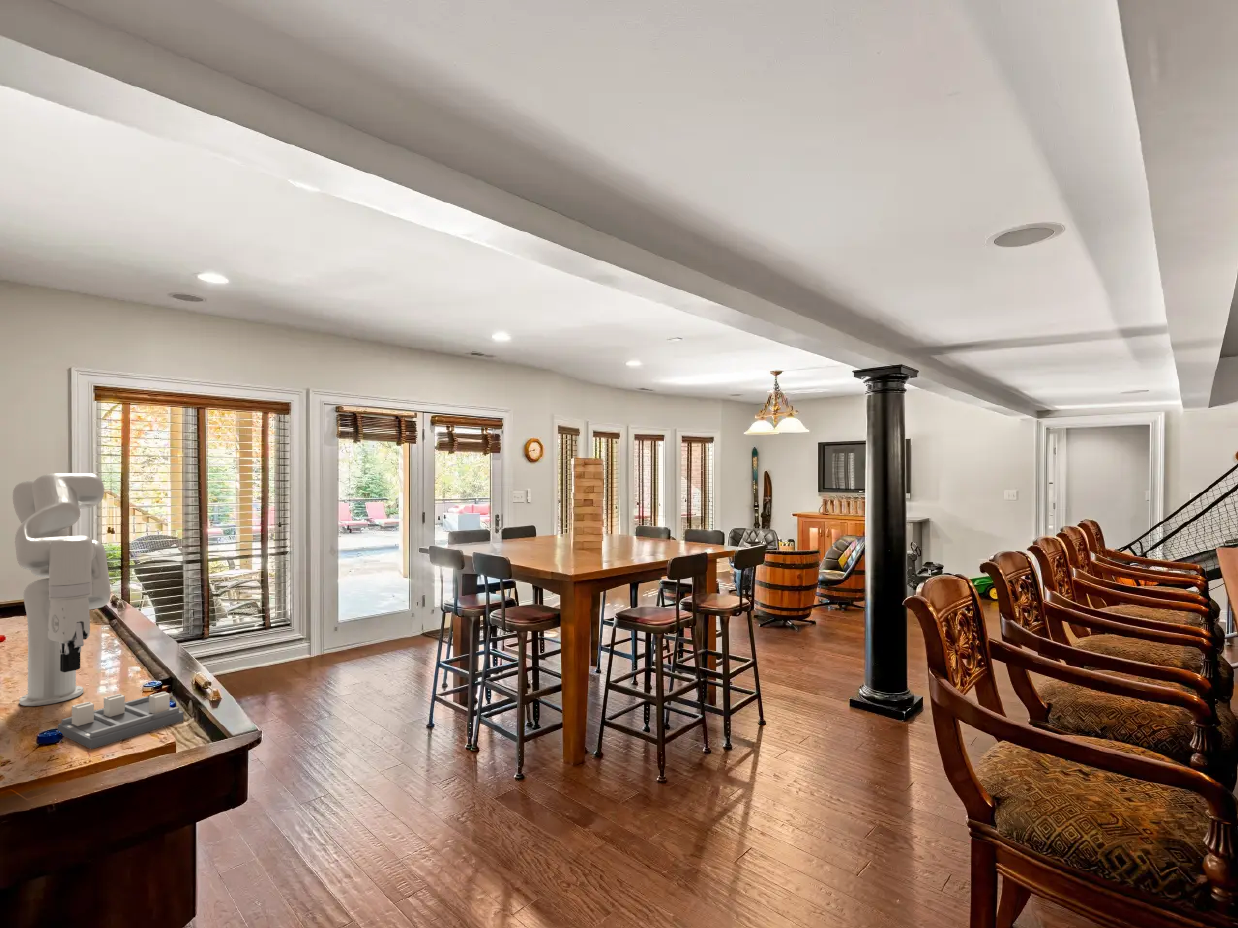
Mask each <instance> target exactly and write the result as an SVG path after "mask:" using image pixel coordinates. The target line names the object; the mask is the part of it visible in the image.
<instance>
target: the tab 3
mask: <svg viewBox="0 0 1238 928" xmlns="http://www.w3.org/2000/svg"><path fill="white" fill-rule="evenodd" d="M148 697H149V713H152V714H154V713H158V712H161V711H165V710H168V709H170V707H171V706H170V705H171V704H170V702H171V701H170V700H171V699H170V698H171V697H170V693H168V692H166V691H161V692H158V693H157V692H156V693H154V694H150V695H149V696H148Z"/></svg>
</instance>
